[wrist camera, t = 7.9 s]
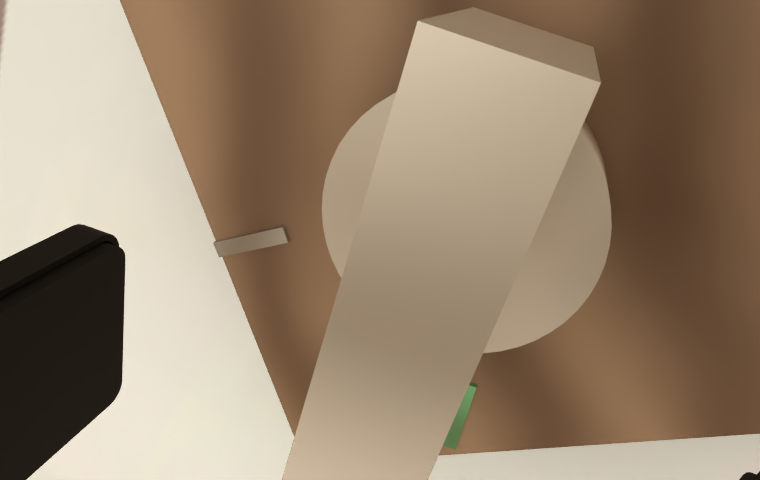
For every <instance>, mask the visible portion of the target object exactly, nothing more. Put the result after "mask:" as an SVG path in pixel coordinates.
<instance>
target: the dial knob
mask: <svg viewBox="0 0 760 480" xmlns="http://www.w3.org/2000/svg"><path fill="white" fill-rule="evenodd" d="M600 84H601V80H600V75H599V71H598V66H597V61H596V56H595V52H594V47H592V46H589V45H586V44H583V43H580V42H577V41H574V40H571V39H568V38H565V37H562V36H559V35H556V34H553V33H550V32H547V31H544V30H541V29H538V28H535V27H532V26H529V25H526V24H523V23H520V22H517V21H514V20H511V19H508V18H505V17H502V16H499V15H496V14H492V13H489V12H486V11H483V10H480V9H477V8H474V7H472V8H468V9H464V10H460V11H456V12H452V13H447V14H443V15H439V16H435V17H431V18H427V19H423V20H419V21H417V25H416V28H415V31H414V35H413V38H412V42H411V45H410V48H409V52H408V55H407V59H406V62H405V65H404V69H403V72H402V75H401V79H400V82H399V86H398V89H397V92H396V93H394V94H392V95H391V96H389V97H387V98H386V99H384V100H382V101H381V102H379V103H377V104H376V105H375V106H373V107H372V108H371V109H370V110H369V111H367V112H366V113H365V114H364V115H362V116H361V117H360V118H359V120H358V121H357V122H356V123H355V124H354V125H353V126H352V127H351V128H350V129H349V131H348V132H347V134H346V135H345V137H344V138H343V139H342V141H341V142H340V144H339V146H338V148H337V150H336V152H335V154H334V156H333V158H332V160H331V163H330V166H329V168H328V171H327V174H326V178H325V183H324V189H323V196H322V220H323V229H324V234H325V239H326V244H327V247H328V250H329V253H330V256H331V259H332V261H333V263H334V265H335V267H336V269H337V271H338V273H339V275H340V277H341V282H340V285H339V288H338V292H337V295H336V298H335V302H334V305H333V309H332V312H331V315H330V319H329V322H328V326H327V329H326V332H325V336H324V339H323V342H322V346H321V349H320V353H319V356H318V359H317V363H316V366H315V369H314V373H313V376H312V380H311V383H310V386H309V390H308V393H307V396H306V400H305V403H304V407H303V410H302V413H301V417H300V420H299V424H298V427H297V430H296V434H295V437H294V440H293V444H292V447H291V451H290V454H289V457H288V461H287V464H286V467H285V471H284V474H283V478H282V480H428V478H429V476H430V473H431V471H432V469H433V467H434V464H435V462H436V460H437V457H438V455H439V453H440V451H441V448H442V446H443V444H444V441H445V439H446V437H447V435H448V432H449V430H450V428H451V425H452V423H453V421H454V419H455V416H456V414H457V412H458V409H459V407H460V405H461V402H462V400H463V398H464V396H465V393H466V391H467V389H468V386H469V384H470V382H471V380H472V377H473V375H474V373H475V370H476V368H477V366H478V364H479V361H480V359H481V357H482V354H483V353H491V352H499V351H504V350H508V349H513V348H517V347H520V346H522V345H525V344H528V343H530V342H533V341H535V340H537V339H539V338H541V337H543V336H545V335H547V334H549V333H550V332H552V331H553V330H555V329H556V328H558V327H559V326H560V325H562V324H563V323H565V322H566V321H567V320H568V319H569V318H570V317H571V316H572V315H573V314H574V313H575V312H576V311H577V310H578V309H579V308H580V307H581V306H582V304H583V303H584V302H585V301H586V299H587V298H588V297H589V295H590V294H591V292H592V290H593V289H594V287H595V285H596V284H597V282H598V280H599V278H600V275H601V273H602V271H603V268H604V266H605V263H606V259H607V255H608V251H609V247H610V240H611V230H612V221H611V205H610V198H609V191H608V184H607V176H606V171H605V166H604V161H603V157H602V154H601V152H600V149H599V146H598V143H597V141H596V139H595V137H594V135H593V133H592V131H591V129H590V128H589V126H588V125H587V123H586V122H585V119H586V116H587V114H588V112H589V109H590V107H591V105H592V103H593V100H594V98H595V96H596V93H597V91H598V89H599V87H600Z"/></svg>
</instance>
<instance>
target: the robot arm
mask: <svg viewBox="0 0 760 480" xmlns="http://www.w3.org/2000/svg"><path fill="white" fill-rule="evenodd" d="M124 286H125V253H124V251H123V249H121V248H120V247H119V243H118V241H117V239H116V237H114V236H113V235H111V234H108V233H105V232H102V231H100V230H97V229H94V228H91V227H88V226H85V225H81V224H77V225H74V226H71V227H69V228H67V229H65V230H63V231H61V232H59V233H57V234H55V235H53V236H51V237H49V238H47V239H45V240H43V241H41V242H39V243H37V244H34V245H32V246H30V247H28V248H26V249H24V250H22V251H20V252H18V253H16V254H14V255H12V256H10V257H8V258H6V259H4V260H2V261H0V480H26V479H27V478H28V477H30V476H31V475H32V474H33V473H34V472H35V471H36V470H37V469H39V468H40V467H41V466H42V465H43V464H44V463H45V462H46V461H48V460H49V459H50V458H51V457H52V456H53V455H54V454H55V453H57V452H58V451H59V450H60V449H61V448H62V447H63V446H64V445H65V444H67V443H68V442H69V441H70V440H71V439H72V438H73V437H74V436H76V435H77V434H78V433H79V432H80V431H81V430H82V429H83V428H85V427H86V426H87V425H88V424H89V423H90V422H91V421H92V420H94V419H95V418H96V417H97V416H98V415H99V414H100V413H101V412H102V411H104V410H105V409H106V408H107V407H108V406H109V405H110V404H111V403H112V402H113V401H114V400H115V398H116V397H117V395H118V393H119V391H120V388H121V384H122V362H123V324H124ZM739 480H760V472H759V473H758V474H757V475H756V474H753V473H751V472H748V473H745V474H744V475H743V476H742V477H741V478H740V479H739Z"/></svg>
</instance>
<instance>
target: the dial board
mask: <svg viewBox="0 0 760 480" xmlns="http://www.w3.org/2000/svg"><path fill="white" fill-rule="evenodd" d="M120 2H121V4H122V7H123V9H124V12H125V14H126V17H127V19H128V22H129V24H130V27H131V29H132V32H133V34H134V37H135V39H136V42H137V44H138V47H139V49H140V52H141V54H142V57H143V59H144V62H145V64H146V67H147V69H148V72H149V74H150V77H151V79H152V82H153V84H154V87H155V89H156V92H157V94H158V97H159V99H160V102H161V104H162V107H163V109H164V112H165V114H166V117H167V119H168V122H169V124H170V127H171V129H172V132H173V134H174V137H175V139H176V142H177V144H178V147H179V149H180V152H181V154H182V157H183V159H184V162H185V164H186V167H187V169H188V172H189V174H190V177H191V179H192V182H193V184H194V187H195V189H196V192H197V194H198V197H199V199H200V202H201V204H202V207H203V209H204V212H205V214H206V217H207V219H208V222H209V224H210V227H211V229H212V232H213V234H214V237H215V239H216V241H215V242H214V246H215V248H216V251H217V253H218V256H219V257H223V259H224V262H225V264H226V267H227V269H228V272H229V274H230V277H231V279H232V282H233V284H234V287H235V289H236V292H237V294H238V297H239V299H240V302H241V304H242V307H243V309H244V312H245V314H246V317H247V319H248V322H249V324H250V327H251V329H252V332H253V334H254V337H255V339H256V342H257V344H258V347H259V349H260V352H261V354H262V357H263V359H264V362H265V364H266V367H267V369H268V372H269V374H270V377H271V379H272V382H273V384H274V387H275V389H276V392H277V394H278V397H279V399H280V402H281V404H282V407H283V409H284V412H285V414H286V417H287V419H288V422H289V424H290V427H291V429H292V432H293V434H294V437H295V434H296V430H297V427H298V424H299V420H300V417H301V413H302V410H303V407H304V403H305V400H306V396H307V393H308V390H309V386H310V383H311V380H312V376H313V373H314V369H315V366H316V363H317V359H318V356H319V353H320V349H321V346H322V342H323V339H324V336H325V332H326V329H327V326H328V322H329V319H330V315H331V312H332V309H333V305H334V302H335V298H336V295H337V292H338V288H339V285H340V282H341V277H340V275H339V273H338V271H337V269H336V267H335V265H334V263H333V261H332V259H331V256H330V253H329V250H328V247H327V244H326V239H325V234H324V229H323V220H322V196H323V189H324V183H325V178H326V174H327V171H328V168H329V166H330V163H331V160H332V158H333V156H334V154H335V152H336V150H337V148H338V146H339V144H340V142H341V141H342V139H343V138H344V137H345V135H346V134H347V132H348V131H349V129H350V128H351V127H352V126H353V125H354V124H355V123H356V122H357V121H358V120H359V118H360V117H361V116H362V115H364V114H365V113H366V112H367V111H369V110H370V109H371V108H372V107H373V106H375V105H376V104H377V103H379V102H381V101H382V100H384V99H386V98H387V97H389V96H391V95H392V94H394V93H396V92H397V89H398V86H399V82H400V79H401V75H402V72H403V69H404V65H405V62H406V59H407V55H408V52H409V48H410V45H411V42H412V38H413V35H414V31H415V28H416V25H417V21H419V20H423V19H427V18H431V17H435V16H439V15H443V14H447V13H452V12H456V11H460V10H464V9H468V8H472V7H474V8H477V9H480V10H483V11H486V12H489V13H492V14H496V15H499V16H502V17H505V18H508V19H511V20H514V21H517V22H520V23H523V24H526V25H529V26H532V27H535V28H538V29H541V30H544V31H547V32H550V33H553V34H556V35H559V36H562V37H565V38H568V39H571V40H574V41H577V42H580V43H583V44H586V45H589V46H592V47H594V52H595V56H596V61H597V66H598V71H599V75H600V80H601V84H600V87H599V89H598V91H597V93H596V96H595V98H594V100H593V103H592V105H591V107H590V109H589V112H588V114H587V116H586V119H585V122H586V123H587V125H588V126H589V128H590V129H591V131H592V133H593V135H594V137H595V139H596V141H597V143H598V146H599V149H600V152H601V154H602V157H603V161H604V166H605V171H606V176H607V184H608V191H609V198H610V205H611V221H612V230H611V240H610V247H609V251H608V255H607V259H606V263H605V266H604V268H603V271H602V273H601V275H600V278H599V280H598V282H597V284H596V285H595V287H594V289H593V290H592V292H591V294H590V295H589V297H588V298H587V299H586V301H585V302H584V303H583V304H582V306H581V307H580V308H579V309H578V310H577V311H576V312H575V313H574V314H573V315H572V316H571V317H570V318H569V319H568V320H567V321H566V322H565V323H563V324H562V325H560V326H559V327H558V328H556V329H555V330H553V331H552V332H550V333H549V334H547V335H545V336H543V337H541V338H539V339H537V340H535V341H533V342H530V343H528V344H525V345H522V346H520V347H517V348H513V349H508V350H504V351H499V352H491V353H483V354H482V357H481V359H480V361H479V364H478V366H477V368H476V370H475V373H474V375H473V377H472V380H471V382H470V384H469V386H468V389H467V391H466V393H465V396H464V398H463V400H462V402H461V405H460V407H459V409H458V412H457V414H456V416H455V419H454V421H453V423H452V425H451V428H450V430H449V432H448V435H447V437H446V439H445V441H444V444H443V446H442V448H441V451H440V453H439V455H451V454H466V453H480V452H495V451H510V450H524V449H539V448H554V447H568V446H583V445H598V444H612V443H627V442H642V441H656V440H671V439H686V438H700V437H715V436H730V435H744V434H759V433H760V0H120Z"/></svg>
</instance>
